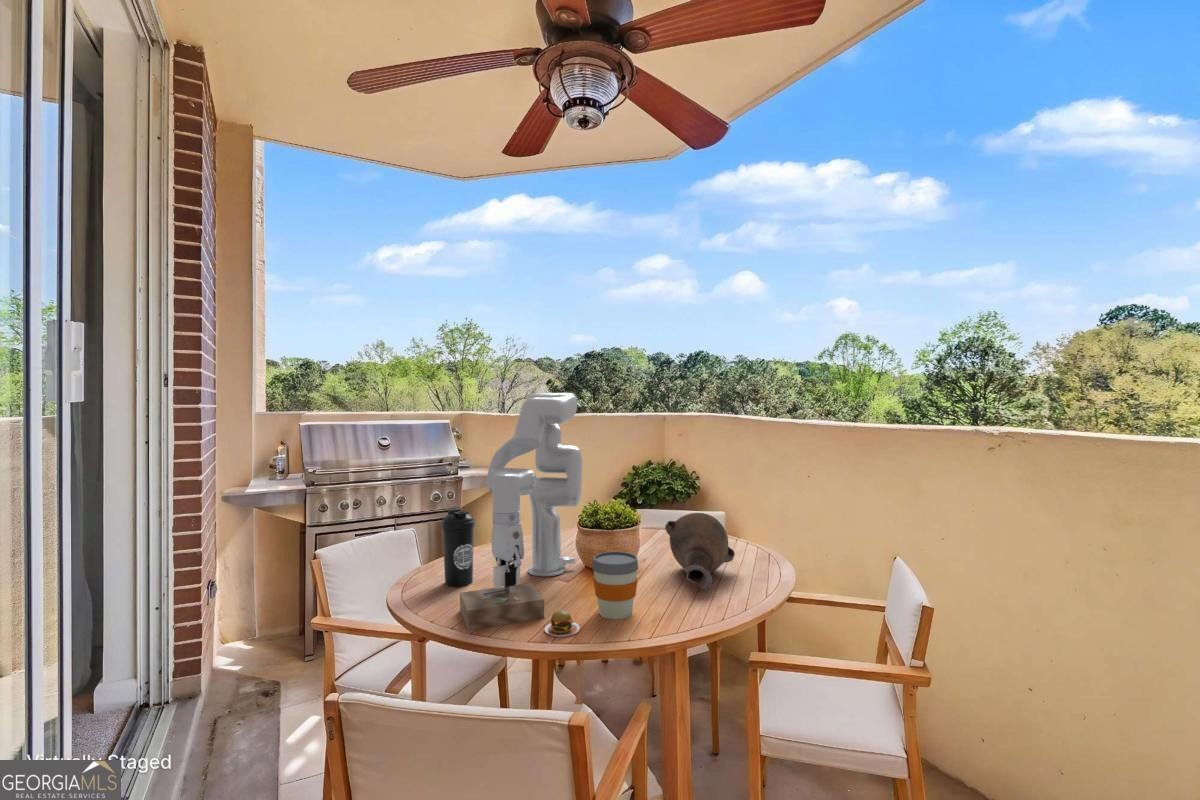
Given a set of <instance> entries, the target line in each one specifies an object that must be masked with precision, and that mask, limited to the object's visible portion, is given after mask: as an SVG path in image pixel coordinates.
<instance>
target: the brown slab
mask: <svg viewBox="0 0 1200 800" xmlns="http://www.w3.org/2000/svg"><path fill="white" fill-rule="evenodd" d="M501 589H504V586H502V587H493V588H491V587H490V588H485V589H479V590H471V591H463V592H459V611H460V614H461V616H462V619H463V622H464V623H465V626H466V629H467V631H472V630H479V629H486V628H491V627H497V626H503V625H509V624H515V623H516V624H517V623H522V622H527V621H528V622H529V621H533V620H534V621H535V620H539V619H540V620H541V619H545V599H544V597H543V595H541V593H540V592H539V591H538V590H537V588H535V586H534V585H533V584H532V583H531V582H529V583H519V584H516V585H514V586H510V587H509V590H510V591H509V592H500V593H494V594H489V595H483V593H485V592H490V591H496V590H501Z"/></svg>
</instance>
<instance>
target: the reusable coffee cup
mask: <svg viewBox="0 0 1200 800" xmlns="http://www.w3.org/2000/svg"><path fill="white" fill-rule="evenodd" d="M592 559H593V560H592V571H593V576H594V577H593V579H592V580H593V587H594V593H595V597H596V598H597V604H598V605H597V606H598V613H599V615H600V616H601V617H603V618H606V619H609V620H620V619H621V620H623V619H626V618H629V617H631V616H632V614H633V608H634V600H635V597H636V594H637V587H638V576H637V573H638V570H639V561H638V556H637V555H635V554H633V553H631V552H627V551H606V552H605V551H604V552H600V553H596V554H595V555H594V556H593V558H592Z"/></svg>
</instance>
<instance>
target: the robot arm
mask: <svg viewBox="0 0 1200 800" xmlns="http://www.w3.org/2000/svg"><path fill="white" fill-rule="evenodd" d="M577 411H578V401H577V398H576V396H575V395H574V394H573V393H572V392H536V393H532V394H529V395H528V396H527V397H526V400H524V401H523V403H522V405H521V408H520V412H519V414H518V419H517V423H516V426H515V430H514V433H513V435H512V437H511V438H509V440H507V441H506V442H505V443H503V444H502V445H501V446H500V447H499V448H498V449H497V451H495V453H494V454H493V456H492V458H491V461H490V464H489V467H488V471H487V476H486V488H487V489H488V491H489V492H490V493H491V494H492V495H491V496H492V500H491V501H492V503H491V504H492V532H491V552H492V553H491V554H492V556H493V558H494V559H495V561H496V567H497V566H503V565H506V571H507V572H505V586H506V587H510V586H514V585H517V584H516V571H517V568H518V566H520V567H521V565H522V560H523V559H524V557H525V546H524V542H525V541H524V534H523V533H524V532H523V527H522V523H521V496H527V495H529V501H530V508H531V523H532V524H531V535H532V537H531V539H532V541H531V542H532V543H531V544H532V547H531V548H532V549H531V550H532V553H531V554H532V564H531V565H529V566H528V568H527V573H528V574H530V575H532V576H534V577H554V576H560V575H562V574H564V573H565V571H566V565H572V564H575V562H576V560H575V557H569V556H562V555H561V552H562V551H561V547H562V546H561V545H562V543H561V542H562V541H561V526H562V525H561V524H562V523H561V517H560V516H561V515H560V514H559V512H558V510H557V509H556V508H555V507H567V508H568V507H570V508H571V507H576V506H578V505H579V503H580V501H581V497H582V480H583V478H582V477H583V455H582V452H581V449H580V448H579V447H577V446H576V445H572V444H571V445H569V444H568V445H566V444H565V445H564V444H562V430H561V428H560V425H561V424H564V423H567V422H568V421H570V420H571V419H572V418H574V416H575V415H576V412H577ZM534 450H535V457H534V458H535V459H534V460H535V468H536V470H537V471H538V472H540V473H542V474H543V473H544V474H563V475H564V474H565V475H566V477H555V476H553V477H552V476H550V477H549V476H544V477H543V476H542V477H541V476H540V477H537V475H536V473H535V471H533V470H531V469H528V468H518V467H517V468H514V467H513V468H512V467H506V466H507V465H508V463H510V462H511V461H512V460H514V459H516V458H518V457H520V456H523V455H526V454H528V453H530V452H533V451H534ZM510 564H511V565H510Z"/></svg>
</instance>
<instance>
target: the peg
mask: <svg viewBox="0 0 1200 800" xmlns="http://www.w3.org/2000/svg"><path fill="white" fill-rule="evenodd" d="M511 564H512V563H510V565H511ZM505 572H507V571H506V565H503V566H497V565H496V566H493V567H492V573H493V574H492V575H493V577H492V579H493V580H492V582H493V583H492V585H493V587H494V588H498V587H504V589H501V590H496V591H490V592H485V593H483V595H489V594H494V593H500V592H509V591H510V590H509V587H506V586H505ZM520 584H521V565H520V566H518V568H517V571H516V585H520Z"/></svg>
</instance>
